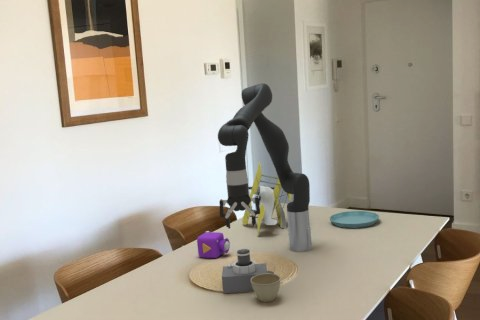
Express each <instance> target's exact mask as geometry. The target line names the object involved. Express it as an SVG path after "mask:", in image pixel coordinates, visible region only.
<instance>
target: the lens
mask: <svg viewBox="0 0 480 320" xmlns="http://www.w3.org/2000/svg"><path fill="white" fill-rule="evenodd" d="M236 256H237V257H236V258H237V261H238V266H249V265H251V262H250V260H251V252H250V249H248V248H242V249H238V250H237V251H236Z"/></svg>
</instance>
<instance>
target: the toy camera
mask: <svg viewBox="0 0 480 320" xmlns="http://www.w3.org/2000/svg"><path fill="white" fill-rule="evenodd" d="M229 239H230V238H227V237H224V233H223V232H218V231H217V232H214V231H209V230H207V231H205V232H204V233H202V234H201V235H199V236H198V237H197V239H196V244H197V254H198V257H199V258H204V259H206V258H207V259H217V258H220V257H221V255H224V254H228V253H229V251H230V248H231V245H230V243H231V242H230V240H229Z"/></svg>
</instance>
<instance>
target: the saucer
mask: <svg viewBox="0 0 480 320" xmlns="http://www.w3.org/2000/svg"><path fill="white" fill-rule="evenodd" d="M379 218H380V215H379V214H378V213H376V212H371V211H366V210H365V211H364V210H350V211H341V212H337V213H335V214H331V216H330V217H329V221H330V222H331V223H332V224H333V225H335V226H336V227H338V228H343V229H344V228H345V229H360V228H367V227H370V226H373V225H374V224H375V223H377V222H378V221H379Z"/></svg>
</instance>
